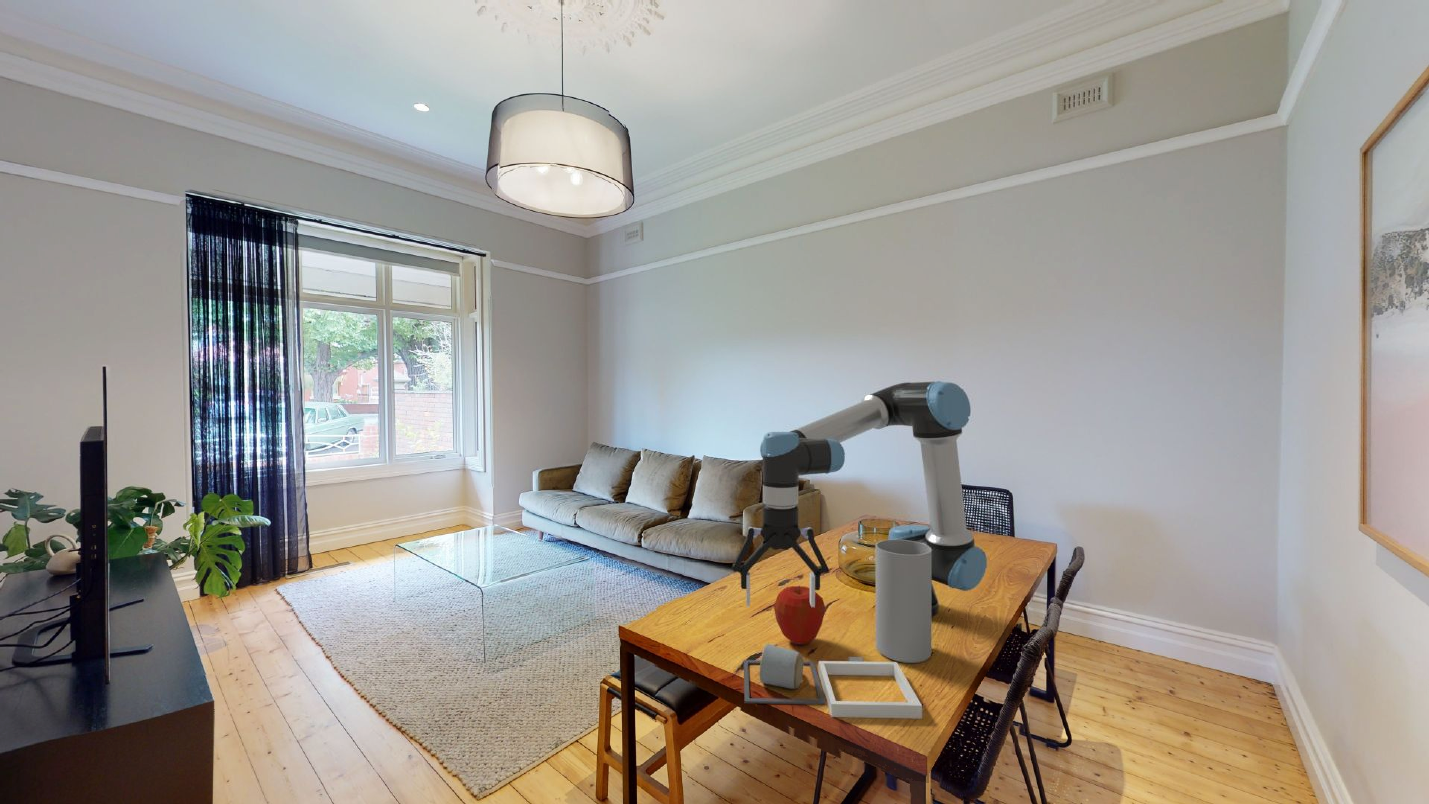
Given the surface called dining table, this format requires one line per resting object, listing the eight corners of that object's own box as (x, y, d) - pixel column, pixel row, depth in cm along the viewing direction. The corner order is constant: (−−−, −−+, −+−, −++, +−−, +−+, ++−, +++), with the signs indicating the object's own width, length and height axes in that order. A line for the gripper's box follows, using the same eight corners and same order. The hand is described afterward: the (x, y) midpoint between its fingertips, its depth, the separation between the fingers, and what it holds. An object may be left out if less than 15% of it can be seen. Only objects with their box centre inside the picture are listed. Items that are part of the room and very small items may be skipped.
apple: (765, 644, 130) (765, 587, 130) (789, 626, 139) (789, 573, 139) (811, 659, 122) (810, 599, 122) (833, 639, 132) (833, 583, 132)
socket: (893, 668, 118) (893, 657, 118) (922, 718, 100) (922, 705, 100) (817, 667, 119) (817, 656, 119) (831, 717, 101) (831, 704, 101)
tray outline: (813, 662, 121) (813, 661, 121) (825, 704, 105) (825, 702, 105) (743, 661, 121) (743, 660, 121) (744, 703, 106) (744, 701, 106)
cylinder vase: (869, 638, 132) (869, 539, 132) (920, 639, 132) (920, 539, 131) (884, 664, 120) (884, 555, 119) (939, 665, 119) (940, 555, 119)
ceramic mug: (797, 697, 107) (797, 659, 107) (758, 689, 110) (758, 653, 110) (807, 672, 117) (807, 637, 117) (771, 665, 120) (771, 631, 120)
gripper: (836, 501, 115) (835, 598, 116) (722, 500, 117) (722, 596, 117) (843, 509, 108) (842, 612, 108) (721, 508, 109) (721, 610, 109)
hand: (780, 604), depth 113 cm, fingers open, 13 cm apart
